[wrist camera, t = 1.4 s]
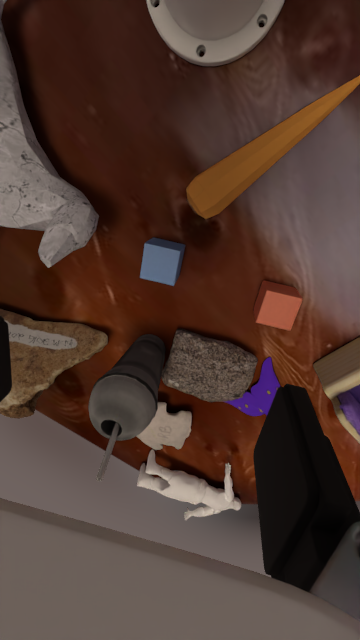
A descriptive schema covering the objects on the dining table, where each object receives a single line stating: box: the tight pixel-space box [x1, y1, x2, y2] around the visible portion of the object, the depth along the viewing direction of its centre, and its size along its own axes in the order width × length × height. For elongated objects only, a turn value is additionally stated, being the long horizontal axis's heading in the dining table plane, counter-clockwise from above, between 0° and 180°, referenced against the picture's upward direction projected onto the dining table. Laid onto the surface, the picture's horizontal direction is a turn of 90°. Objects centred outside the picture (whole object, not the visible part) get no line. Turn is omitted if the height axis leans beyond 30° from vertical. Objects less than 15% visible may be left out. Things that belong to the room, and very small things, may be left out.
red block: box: [253, 280, 303, 331], centre depth 35 cm, size 4×4×4 cm
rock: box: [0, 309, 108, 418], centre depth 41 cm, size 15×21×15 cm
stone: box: [161, 328, 258, 402], centre depth 40 cm, size 12×9×4 cm
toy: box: [226, 357, 280, 416], centre depth 41 cm, size 14×10×5 cm
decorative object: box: [137, 402, 192, 450], centre depth 46 cm, size 12×4×10 cm
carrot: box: [186, 76, 360, 219], centre depth 29 cm, size 20×4×4 cm, turn 126°
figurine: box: [137, 449, 241, 521], centre depth 50 cm, size 17×5×18 cm
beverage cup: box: [88, 334, 166, 481], centre depth 33 cm, size 7×7×20 cm
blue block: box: [140, 237, 185, 286], centre depth 35 cm, size 4×4×4 cm
